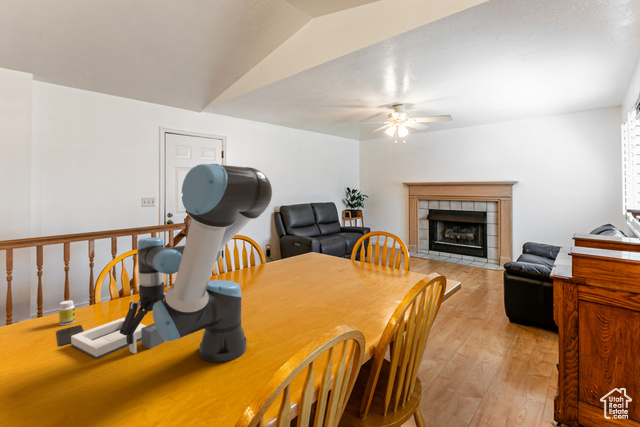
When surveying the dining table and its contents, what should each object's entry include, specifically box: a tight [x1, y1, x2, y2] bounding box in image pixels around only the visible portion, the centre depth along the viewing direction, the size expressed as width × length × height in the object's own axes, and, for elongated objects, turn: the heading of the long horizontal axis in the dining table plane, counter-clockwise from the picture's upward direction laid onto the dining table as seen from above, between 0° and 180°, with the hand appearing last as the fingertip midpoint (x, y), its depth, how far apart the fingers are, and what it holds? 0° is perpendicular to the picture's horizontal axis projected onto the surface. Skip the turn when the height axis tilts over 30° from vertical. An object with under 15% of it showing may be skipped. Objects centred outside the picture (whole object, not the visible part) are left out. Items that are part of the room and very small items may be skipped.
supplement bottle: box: [58, 299, 76, 326], centre depth 116 cm, size 5×5×8 cm
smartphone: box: [56, 324, 85, 347], centre depth 107 cm, size 7×1×15 cm
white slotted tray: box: [70, 317, 147, 360], centre depth 103 cm, size 16×17×4 cm
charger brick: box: [141, 322, 166, 350], centre depth 102 cm, size 5×5×6 cm
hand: (153, 342), depth 102 cm, fingers open, 13 cm apart
